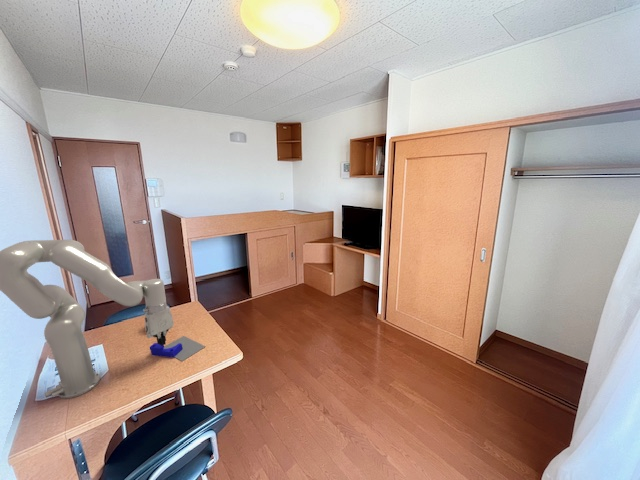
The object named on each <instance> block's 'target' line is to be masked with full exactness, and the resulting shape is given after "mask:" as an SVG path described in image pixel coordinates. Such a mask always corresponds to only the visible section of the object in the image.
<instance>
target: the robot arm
mask: <svg viewBox="0 0 640 480" xmlns="http://www.w3.org/2000/svg"><path fill="white" fill-rule="evenodd" d="M85 250H86V249H85V246H84V244H82V243H81V242H80V241H77V240H74V239H46V240H45V239H40V240H38V239H37V240H24V241H21V242H17V243H15V244H12V245H10V246H7V247H5V248H3V249H1V250H0V292H1V293H3V294H4V295H5V296H6V297H7V298H9V300H10V301H11V302H13V303H14V304H15V305H16V306H17V308H19V309H20V310H21V311H22V312H23V313H25V314H26V316H28V317H30V318H32V319H36V320H37V319H38V320H42V319H46V318H48V317H49V318H50V319H49V320H48V322H47V323H46V324H45V327H44V332H43V336H44V339H45V341H46V342H47V344H48V346H49V348H50V352H51V354H52V357H53V360H54V364H55V366H56V370H57V374H58V376H59V381H58V384H57V385H56V386H55V387H53V388H52V389H50V390H47V391H45V392H44V396H45V398H49V397H52V398H54V397H56V396H58V397H59V398H60V399H65V400H66V399H73V398H76V397H79V396H81V395H83V394H86V393H88V392H90V391H91V390H92V389H94V388H95V387H96V386H97V385H98V384H99V383H100V381H101V378H102V377H101V374H100V373H99V372H95V369H94V365H93V363H92V358H91V355H90V351H89V347H88V344H87V341H86V337H85V335H84V333H83V330H82V325H83V322H84V321H85V318H86V310H85V309H84V307H83V306H82V305H81V304H80V302H78V301H77V300H76V299H75V298H74V297H73V296H72V295H71V294H70V293H69V292H68V291H67V290H66V289H65V288H63V287H61V286H59V285H56V284H45V285H44V284H43V283H41V282H40V280H39V279H38V278H36V277H35V276H34V275H32V274H31V273H29V272H28V269H29V268H30V267H32V266H33V265H35V264H36V263H46V262H47V263H50V262H51V263H52V264H54V265H55V266H57V267H59V268H61V269H63V270H65V271H67V272H69V273H70V274H73V275H75V276H76V277H78V278H80V279H82V280H84V281H86V282H88V283H89V284H90V286H92V287H93V288H94V289H96V290H97V291H99V292H100V293H101V294H102V295H103V296H105V297H106V298H108V299H110V300H111V301H114V302H116V303H117V304H120V305H121V306H123V307H135V306H138V305H139V304H141V302H142V301H143V299H144V300H145V308H143V309H142V311H143V313H145V314H144V328H145V329H144V330H145V333H146V338H148V339H150V338H156V341H157V342H156V343H158V344H159V345H161V346H163V345H164V346H166V345H167V344H166V343H167V339H166V336H167V333H168V332H169V330H170V329H172V328H173V327H174V317H173V314H172V311H171V309H170V306H168V305H167V298H166V291H165V290H166V289H165V283H164V280H163V279H162V278H152V279H148V280H134V281H133V280H132V281H128V282H127V283H126V282H125V281H123V280H122V279H120V278H119V277H118V276H117V275H116V274H115V272H113V270H112V268H111V267H110V265H109V264H107V263H106V262H105V261H103V260H101V259H99V258H97V257H96V256H93V255H92V254H90V253H89V252H87V251H85Z"/></svg>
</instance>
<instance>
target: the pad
mask: <svg viewBox="0 0 640 480" xmlns="http://www.w3.org/2000/svg"><path fill="white" fill-rule="evenodd" d="M179 343H181V344H182V347H183V349H182V350H181V351H180V352H179V353H178V354H177V355H176V356H175V357H174V358H175V359H177V360H178V361H180V362H185V360H187V359H188V358H190V357H191V356H193V355H195V354H197V353H198V352H200V351H201V350H203V349H205V348H206V346H205V345H203V344H201V343H199V342H197V341H195V340H193V339H192V338H189V337H188V336H185V335H182V336H181V337H179V338H177V339H176V340H173V341H172V342H169V343H168V344H165V345H164V349H168V348H172V347H174V346H176V345H177V344H179Z"/></svg>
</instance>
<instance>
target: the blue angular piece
mask: <svg viewBox="0 0 640 480" xmlns="http://www.w3.org/2000/svg"><path fill="white" fill-rule="evenodd" d="M164 346H165V345H163V346H161V345H159V344H158V343H157V342H154V343H153V344H152V345H150V346H149V351H150V354H151V356H155V357H165V358H175V356H176V355H177V354H178V353H179V352H180V351H181V350H182V349H183V347H182V344H181V343H179V344H177V345H176V346H174V347H172V348H168V349H164Z"/></svg>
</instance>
